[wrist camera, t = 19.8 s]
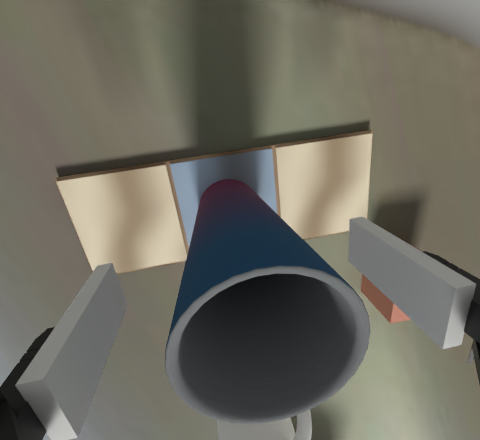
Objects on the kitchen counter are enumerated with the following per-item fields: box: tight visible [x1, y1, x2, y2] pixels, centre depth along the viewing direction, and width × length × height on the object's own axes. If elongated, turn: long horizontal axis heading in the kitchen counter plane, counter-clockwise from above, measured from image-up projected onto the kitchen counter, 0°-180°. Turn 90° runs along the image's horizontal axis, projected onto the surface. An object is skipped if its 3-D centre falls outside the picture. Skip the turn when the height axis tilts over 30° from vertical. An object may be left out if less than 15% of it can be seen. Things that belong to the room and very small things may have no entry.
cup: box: [165, 179, 370, 424], centre depth 15 cm, size 7×7×15 cm
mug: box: [217, 410, 312, 440], centre depth 28 cm, size 12×8×10 cm
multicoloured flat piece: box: [55, 130, 373, 274], centre depth 23 cm, size 26×9×1 cm, turn 97°
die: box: [361, 244, 422, 323], centre depth 26 cm, size 5×5×5 cm
